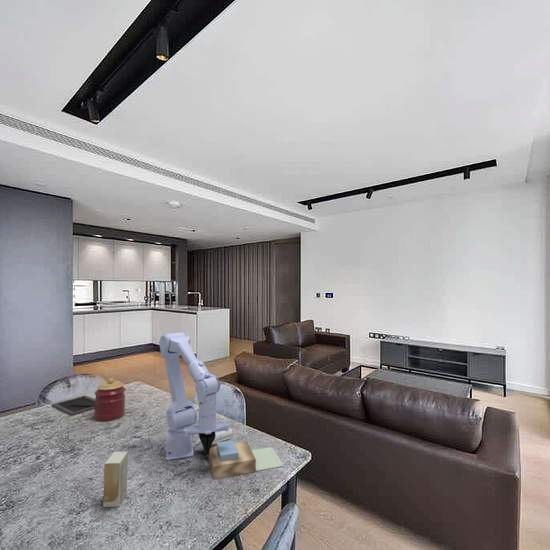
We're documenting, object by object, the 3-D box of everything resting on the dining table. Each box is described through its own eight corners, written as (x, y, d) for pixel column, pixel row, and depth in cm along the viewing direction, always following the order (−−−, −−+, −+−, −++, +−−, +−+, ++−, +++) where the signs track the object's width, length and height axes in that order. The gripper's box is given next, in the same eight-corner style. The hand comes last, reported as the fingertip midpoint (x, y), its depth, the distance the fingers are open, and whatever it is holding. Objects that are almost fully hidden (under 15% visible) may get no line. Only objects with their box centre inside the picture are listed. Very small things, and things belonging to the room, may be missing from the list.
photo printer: (231, 425, 119) (200, 434, 111) (234, 437, 117) (203, 447, 109) (220, 432, 125) (191, 442, 118) (223, 444, 123) (193, 454, 116)
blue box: (220, 461, 103) (220, 455, 103) (216, 448, 111) (216, 442, 111) (238, 458, 105) (238, 452, 105) (233, 445, 113) (233, 440, 113)
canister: (130, 414, 149) (131, 377, 150) (103, 424, 138) (104, 384, 139) (115, 408, 156) (116, 372, 157) (88, 417, 145) (89, 379, 146)
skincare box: (112, 493, 92) (113, 451, 93) (127, 492, 93) (128, 450, 93) (102, 508, 86) (103, 463, 87) (118, 507, 86) (119, 462, 87)
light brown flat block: (213, 479, 100) (213, 466, 100) (208, 458, 112) (208, 446, 112) (255, 471, 104) (255, 459, 104) (246, 452, 117) (246, 441, 117)
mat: (255, 471, 104) (255, 470, 104) (246, 452, 117) (246, 451, 117) (283, 466, 107) (283, 465, 108) (272, 447, 120) (272, 447, 120)
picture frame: (105, 406, 160) (84, 398, 171) (105, 402, 160) (85, 394, 171) (71, 417, 146) (51, 407, 158) (71, 412, 147) (51, 403, 158)
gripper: (185, 421, 100) (184, 464, 100) (230, 415, 105) (229, 457, 104) (184, 412, 107) (183, 453, 106) (227, 408, 111) (226, 446, 111)
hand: (206, 454), depth 106 cm, fingers closed
